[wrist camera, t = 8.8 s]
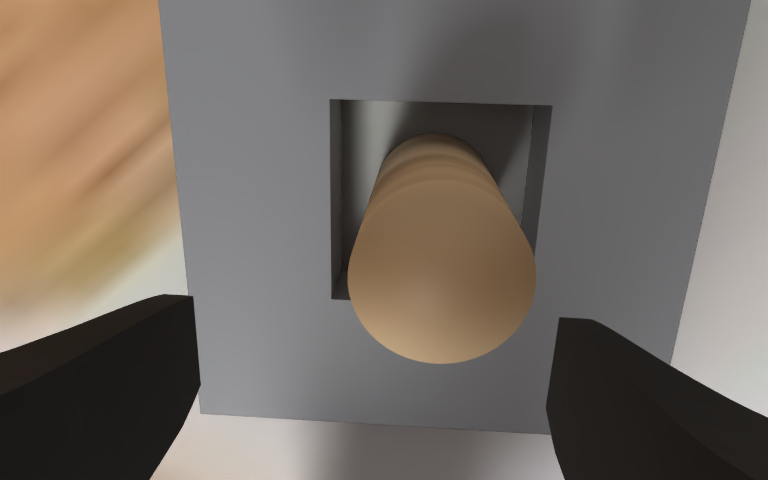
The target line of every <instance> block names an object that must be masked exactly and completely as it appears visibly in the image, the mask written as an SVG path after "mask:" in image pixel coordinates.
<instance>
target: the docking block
mask: <svg viewBox="0 0 768 480" xmlns="http://www.w3.org/2000/svg"><path fill="white" fill-rule="evenodd" d="M158 2H159V12H160V22H161V32H162V41H163V51H164V61H165V71H166V81H167V90H168V100H169V110H170V120H171V130H172V139H173V149H174V159H175V169H176V179H177V188H178V198H179V208H180V218H181V228H182V238H183V247H184V257H185V267H186V277H187V287H188V296H193V298H194V310H195V322H196V333H197V345H198V357H199V368H200V380H201V386H200V388H199V391H198V394H199V404H200V414H211V415H228V416H245V417H262V418H278V419H295V420H312V421H329V422H346V423H362V424H379V425H396V426H413V427H429V428H446V429H463V430H480V431H496V432H513V433H530V434H547V435H551V432H550V427H549V422H548V417H547V412H546V401H547V395H548V388H549V382H550V375H551V368H552V362H553V355H554V348H555V342H556V335H557V329H558V322H559V317H566V318H584V319H593V320H595V321H597V322H599V323H601V324H603V325H605V326H607V327H609V328H610V329H612V330H614V331H615V332H617V333H619V334H620V335H622V336H624V337H625V338H627V339H628V340H630V341H631V342H633V343H635V344H636V345H638V346H639V347H641V348H643V349H644V350H646V351H647V352H649V353H651V354H652V355H654V356H655V357H657V358H659V359H660V360H662V361H664V362H665V363H667V364H669V365H670V363H671V359H672V354H673V350H674V345H675V341H676V336H677V332H678V327H679V323H680V318H681V314H682V309H683V305H684V300H685V296H686V291H687V287H688V282H689V278H690V273H691V269H692V264H693V260H694V255H695V251H696V246H697V242H698V237H699V233H700V228H701V224H702V219H703V215H704V210H705V206H706V201H707V197H708V192H709V187H710V183H711V178H712V174H713V169H714V165H715V160H716V156H717V151H718V147H719V142H720V138H721V133H722V129H723V124H724V120H725V115H726V111H727V106H728V102H729V97H730V93H731V88H732V84H733V79H734V75H735V70H736V66H737V61H738V57H739V52H740V48H741V43H742V39H743V34H744V30H745V25H746V21H747V16H748V12H749V7H750V3H751V0H158ZM341 99H346V100H380V101H415V102H449V103H483V104H517V105H535V107H534V116H533V125H532V134H531V144H530V153H529V162H528V171H527V180H526V189H525V198H524V207H523V216H522V225H521V229H522V231H523V233H524V234H525V236H526V238H527V240H528V242H529V244H530V246H531V249H532V252H533V256H534V259H535V265H536V288H535V294H534V297H533V301H532V304H531V307H530V309H529V311H528V314H527V315H526V317H525V319H524V320H523V322H522V324H521V325H520V326H519V327H518V329H517V330H516V331H515V332H514V333H513V334H512V335H511V336H510V337H509V338H508V339H507V340H506V341H505V342H503V343H502V344H501V345H499V346H498V347H497V348H495V349H493V350H492V351H490V352H488V353H486V354H484V355H482V356H479V357H477V358H474V359H471V360H467V361H463V362H457V363H449V364H434V363H425V362H419V361H416V360H412V359H409V358H406V357H404V356H401V355H399V354H396V353H395V352H393V351H391V350H390V349H388V348H386V347H385V346H384V345H382V344H381V343H379V342H378V341H377V340H376V339H375V338H374V337H373V336H372V335H371V334H370V333H369V332H368V331H367V330H366V328H365V327H364V326H363V325H362V323H361V321H360V320H359V318H358V316H357V315H356V312H355V310H354V308H353V305H352V302H351V299H350V295H349V289H348V271H342V253H341Z"/></svg>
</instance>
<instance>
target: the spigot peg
mask: <svg viewBox="0 0 768 480" xmlns="http://www.w3.org/2000/svg"><path fill="white" fill-rule="evenodd" d="M535 288H536V265H535V259H534V256H533V252H532V249H531V246H530V244H529V242H528V240H527V238H526V236H525V234H524V233H523V231H522V229H521V227H520V225H519V224H518V222H517V220H516V218H515V217H514V215H513V213H512V211H511V209H510V208H509V206H508V204H507V202H506V201H505V199H504V197H503V195H502V193H501V192H500V190H499V188H498V186H497V185H496V183H495V181H494V179H493V177H492V176H491V174H490V172H489V170H488V169H487V167H486V165H485V163H484V162H483V160H482V159H481V157H480V156H479V154H478V153H477V152H476V151H475V150H474V149H473V148H472V147H471V146H469V145H468V144H467V143H465V142H464V141H462V140H460V139H458V138H456V137H453V136H449V135H445V134H435V133H431V134H423V135H419V136H415V137H413V138H410V139H408V140H406V141H404V142H403V143H401V144H400V145H398V146H397V147H396V148H395V149H394V150H393V151H391V153H390V154H389V155H388V156H387V157H386V159H385V161H384V162H383V164H382V166H381V168H380V170H379V173H378V176H377V179H376V182H375V185H374V188H373V191H372V194H371V197H370V200H369V203H368V206H367V209H366V212H365V215H364V218H363V221H362V223H361V226H360V229H359V232H358V235H357V238H356V241H355V244H354V247H353V250H352V253H351V257H350V260H349V267H348V289H349V295H350V299H351V302H352V305H353V308H354V310H355V312H356V315H357V316H358V318H359V320H360V321H361V323H362V325H363V326H364V327H365V328H366V330H367V331H368V332H369V333H370V334H371V335H372V336H373V337H374V338H375V339H376V340H377V341H378V342H379V343H381V344H382V345H384V346H385V347H386V348H388V349H390V350H391V351H393V352H395V353H396V354H399V355H401V356H404V357H406V358H409V359H412V360H416V361H419V362H425V363H434V364H449V363H457V362H463V361H467V360H471V359H474V358H477V357H479V356H482V355H484V354H486V353H488V352H490V351H492V350H493V349H495V348H497V347H498V346H499V345H501V344H502V343H503V342H505V341H506V340H507V339H508V338H509V337H510V336H511V335H512V334H513V333H514V332H515V331H516V330H517V329H518V327H519V326H520V325H521V324H522V322H523V320H524V319H525V317H526V315H527V314H528V311H529V309H530V307H531V304H532V301H533V297H534V294H535Z"/></svg>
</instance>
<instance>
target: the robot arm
mask: <svg viewBox="0 0 768 480" xmlns="http://www.w3.org/2000/svg"><path fill="white" fill-rule="evenodd" d="M200 386H201V380H200V368H199V357H198V345H197V333H196V322H195V310H194V298H193V296H185V295H168V294H163V295H158V296H154V297H150V298H147V299H144V300H141V301H138V302H136V303H133V304H130V305H128V306H125V307H122V308H120V309H117V310H115V311H112V312H110V313H107V314H104V315H102V316H99V317H97V318H94V319H92V320H89V321H87V322H84V323H82V324H79V325H77V326H74V327H72V328H69V329H66V330H63V331H61V332H58V333H55V334H52V335H50V336H47V337H44V338H41V339H39V340H36V341H33V342H30V343H28V344H25V345H22V346H19V347H17V348H14V349H11V350H8V351H5V352H2V353H0V480H149V479H150V478H151V476H152V475H153V473H154V472H155V470H156V468H157V467H158V465H159V464H160V462H161V461H162V459H163V457H164V456H165V454H166V453H167V451H168V449H169V448H170V446H171V445H172V443H173V441H174V440H175V438H176V437H177V435H178V433H179V432H180V430H181V428H182V426H183V424H184V422H185V420H186V418H187V416H188V414H189V411H190V409H191V407H192V405H193V402H194V400H195V398H196V395H197V393H198V391H199V388H200ZM546 412H547V417H548V422H549V427H550V432H551V436H552V440H553V445H554V449H555V453H556V456H557V459H558V462H559V465H560V468H561V470H562V473H563V476H564V479H565V480H768V418H767V417H765V416H763V415H761V414H759V413H757V412H755V411H752V410H750V409H748V408H746V407H744V406H742V405H740V404H738V403H736V402H734V401H732V400H730V399H729V398H727V397H725V396H723V395H721V394H719V393H718V392H716V391H714V390H712V389H710V388H708V387H707V386H705V385H703V384H701V383H699V382H698V381H696V380H694V379H692V378H690V377H689V376H687V375H685V374H684V373H682V372H680V371H679V370H677V369H675V368H674V367H672V366H670V365H669V364H667V363H665V362H664V361H662V360H660V359H659V358H657V357H655V356H654V355H652V354H651V353H649V352H647V351H646V350H644V349H643V348H641V347H639V346H638V345H636V344H635V343H633V342H631V341H630V340H628V339H627V338H625V337H624V336H622V335H620V334H619V333H617V332H615V331H614V330H612V329H610V328H609V327H607V326H605V325H603V324H601V323H599V322H597V321H595V320H593V319H584V318H566V317H559V322H558V329H557V335H556V342H555V348H554V355H553V362H552V368H551V375H550V382H549V388H548V395H547V401H546Z"/></svg>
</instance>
